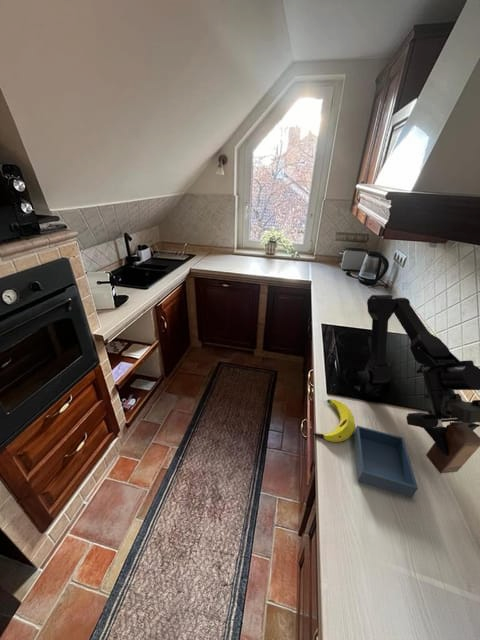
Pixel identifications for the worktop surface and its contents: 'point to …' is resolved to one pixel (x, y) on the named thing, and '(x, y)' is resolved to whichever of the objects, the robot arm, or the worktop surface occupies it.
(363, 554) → the worktop surface
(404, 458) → the blue tray
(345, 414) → the banana
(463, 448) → the brown wooden block
